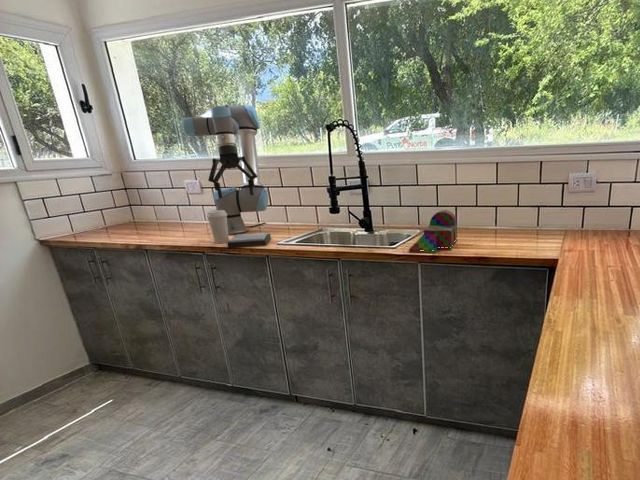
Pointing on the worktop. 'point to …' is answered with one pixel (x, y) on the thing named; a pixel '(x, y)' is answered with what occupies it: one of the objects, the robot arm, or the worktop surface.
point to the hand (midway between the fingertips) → (236, 196)
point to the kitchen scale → (249, 240)
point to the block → (437, 234)
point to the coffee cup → (218, 225)
